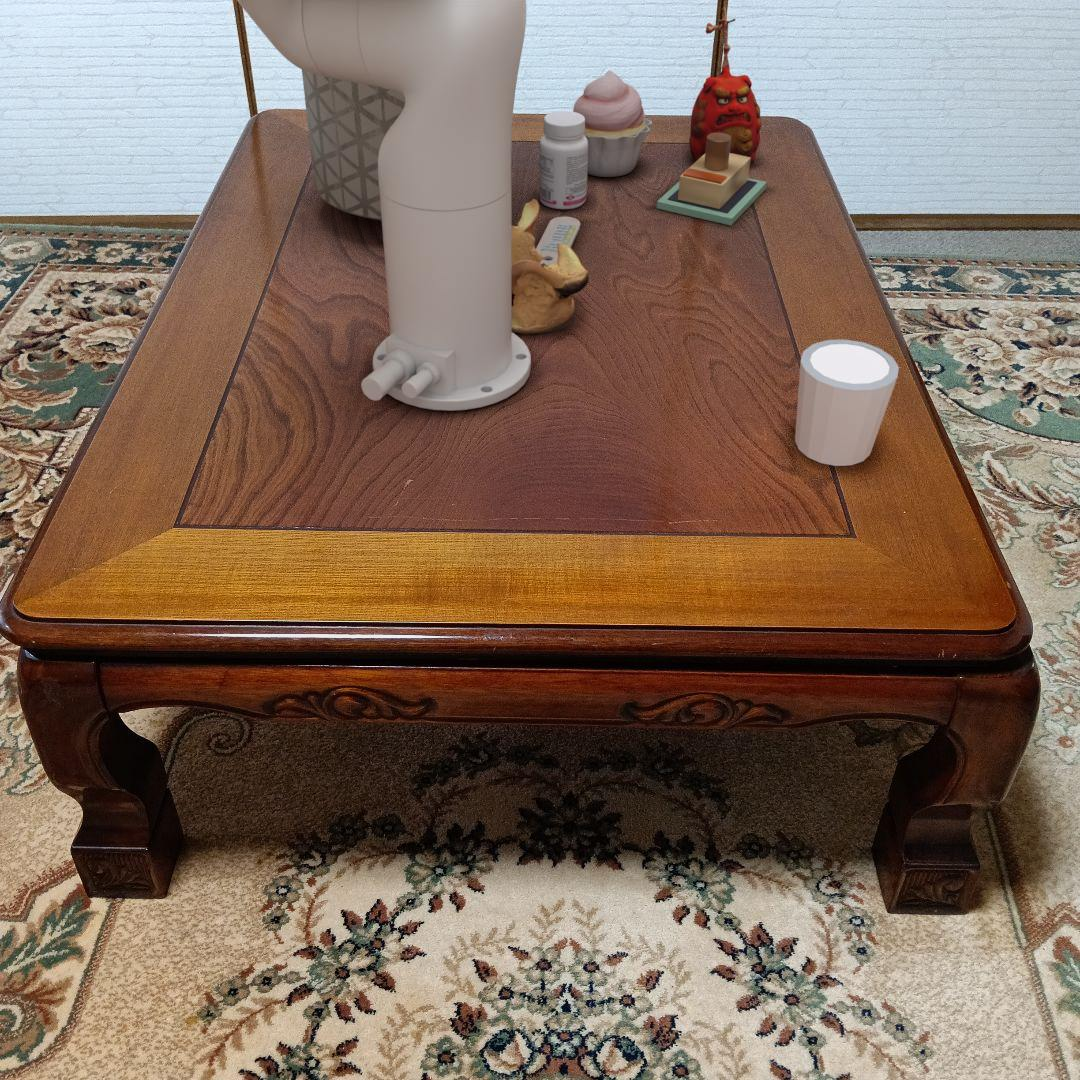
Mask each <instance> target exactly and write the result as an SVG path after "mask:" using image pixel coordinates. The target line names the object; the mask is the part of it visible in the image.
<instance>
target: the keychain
mask: <svg viewBox="0 0 1080 1080" xmlns="http://www.w3.org/2000/svg"><path fill="white" fill-rule="evenodd" d="M580 229H581V221H580V220H578V219H577V218H575V217H572V216H563V215H562V216H556V217H554V218H552V219H550V220H549V222H548V224H547V226H546V228H545V230H544V232H543V235H542V236H541V238H540V240H539V242H538V244H537V246H536V247H535V249H536V251H538V253H539V254H541V255H542V256H543V257H544V259H543V260H542V261H541V264H543V263H545V265H547V266H549V265H550V264H551V263H553V264H554V265H555V264H557V259H558V248H557V246H558V243H560V244H566V245H568V246H569V247H570V248H571V249H572V248H573V247H572V246H573V244H574V242H575V240H576V237H577V236H578V233H579V231H580Z"/></svg>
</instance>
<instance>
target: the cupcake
mask: <svg viewBox="0 0 1080 1080" xmlns="http://www.w3.org/2000/svg"><path fill="white" fill-rule="evenodd" d="M572 112H576V113H579V114H581V115H583V116H584V118H585V133H584V136H585V137H586V138H587V140H588V168H587V175H590V176H593V177H594V176H595V177H601V178H616V177H621V176H625V175H628V174H629V173H632V172H633V171H634V169H635V168H636V166H637V164H638V160H639V158H640V154H641V149H642V145H643V143H644V142H645V140H646V138H647V137H648V135H649V134H650V133H651V128H650V127H651V126H652V124H653V122H652V120H650V119H648V118H645V117H646V114H645V110H644V107H643V102H642V98H641V96H640V94H639V92H638V91H637V89H636V88H635V87H634V86H633V85H630V84H628V83H626V82H624V81H623V79H622V78H620V76H618V75H617V74H616V73H615V72H614V71H612V70H610V69H608V70H607V71H606V73H604V74H603V75H602V76H600V77H599V78H596V79H595V80H593V81H591V82H589V83H588V84H587V85H586V86H585V88H584V90H583V93H582V95H581V96H579V97H578V98H577V99H576V101H575V103H574V105H573V110H572Z"/></svg>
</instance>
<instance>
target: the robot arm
mask: <svg viewBox="0 0 1080 1080" xmlns="http://www.w3.org/2000/svg"><path fill="white" fill-rule="evenodd" d="M236 1H237V2H238V4H239V6H241V7H242V9H243V10H244V12H245V13H247V15H248V16H249V18H250V19H251V20H252V21H253V23H254V24H255V25H256V26H257V28H258V29H259V30H260V31H261V32H262V34H263V35H264V36H265V37H266V38H267V40H268V41H269V42H270V43H271V45H272V46H273V47H274V48H275V49H276V51H278V52H279V53H280V54H281V55H282V57H284V58H285V59H286V60H287V61H288V62H289V63H291V64H292V65H294V66H295V67H297V68H298V69H300V70H301V71H302V70H304V71H307V72H310V73H313V74H316V75H320V76H324V77H329V78H334V79H339V80H344V81H350V82H356V83H361V84H367V85H373V86H378V87H382V88H385V89H389V90H393V91H397V92H400V93H401V94H403V95H404V97H405V106H404V109H403V110H402V112H401V114H400V115H399V116H398V118H397V119H396V120H395V122H394V123H393V124H392V126H391V127H390V128H389V130H388V131H387V133H386V135H385V136H384V138H383V141H382V143H381V146H380V150H379V155H378V180H379V190H380V203H381V216H382V222H381V227H382V242H383V243H382V244H383V256H384V257H383V258H384V269H385V281H386V282H385V283H386V294H387V295H386V297H387V310H388V321H389V323H388V324H389V335H388V336H387V337H385V339H383V340H382V341H381V342H380V344H379V345H378V346H377V347H376V349H375V351H374V353H373V355H372V370H373V371H372V372H371V373H369V374H368V375H367V376H365V377H364V378H362V381H361V383H360V387H361V390H362V392H363V394H364V395H365V396H366V397H367V398H368V399H369V400H371V401H374V402H378V401H380V400H381V399H382V398H384V397H385V396H386V395H389V396H390V397H392V398H393V399H395V400H397V401H400V402H401V403H404V404H406V405H409V406H413V407H416V408H420V409H426V410H432V411H443V412H446V411H447V412H455V411H467V410H468V411H469V410H474V409H480V408H483V407H487V406H491V405H494V404H497V403H499V402H501V401H503V400H506V399H508V398H509V397H511V396H512V395H514V394H516V393H517V392H518V391H519V390H520V389H521V388H523V387H524V385H525V384H526V382H527V381H528V380H529V377H530V375H531V370H532V356H531V352H530V349H529V347H528V346H527V344H526V343H525V342H524V339H522V338H520V337H519V336H518V335H517V334H515V332H512V306H513V305H512V301H513V300H512V295H513V292H512V290H511V226H512V147H513V146H512V142H513V141H512V140H513V139H512V138H513V137H512V136H513V123H514V122H513V119H514V108H515V107H514V106H515V98H516V97H515V96H516V89H517V82H518V75H519V68H520V64H521V59H522V52H523V48H524V43H525V34H526V27H527V0H236Z"/></svg>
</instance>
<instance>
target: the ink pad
mask: <svg viewBox="0 0 1080 1080" xmlns="http://www.w3.org/2000/svg"><path fill="white" fill-rule="evenodd" d="M767 184H768V183H767V181H763V180H760V179H756V178H755V179H754V178H751V177H748V181H747V182H746V183H745V184H744V185H743V186H742V187H741V188H740V189H739V190H738V191H737V192H736V193H735V194H734V195H733V196H732V197H731V198H730V199H729V200H728V201H727V202H726V203H725V204H724V205H723V206H722V207H721V208H720V209H716V208H712V207H708V206H703V205H699V204H694V203H690V202H686V201H681V200H678V192H679V181H677V182H676V183H675V185H673V186H672V187H671V188H670V189H669V190H668V191H667V192H665V193H664V194H663V195H662V196H661V197H660V198H659V199H657V201H656V209H658V210H662V211H666V212H671V213H673V214H674V213H675V214H678V215H682V216H687V217H692V218H695V219H700V220H705V221H709V222H712V223H717V224H722V225H726V226H731V227H732V226H733V224H734V223H736V221H738V219H739V218H740V217H741V216H742V215H743V214H744V213H745V212H746V211H747V210H748V209H749V208H750V207H751V206H752V204H754V202H756V200H757V199H758V198H759V197H760V196H761V195H763V193H764V192H765V191H766V190H767Z"/></svg>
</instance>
